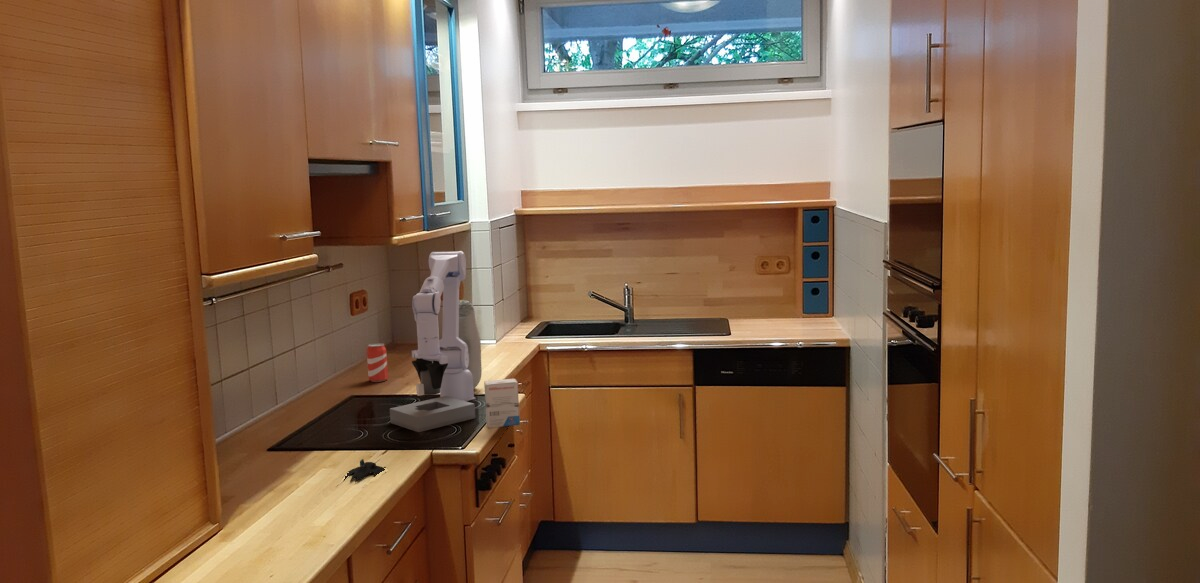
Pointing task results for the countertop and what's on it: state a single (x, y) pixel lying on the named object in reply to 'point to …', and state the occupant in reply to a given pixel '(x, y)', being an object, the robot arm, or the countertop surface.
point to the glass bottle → (470, 339)
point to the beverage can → (377, 362)
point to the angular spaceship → (364, 470)
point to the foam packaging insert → (432, 413)
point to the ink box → (501, 403)
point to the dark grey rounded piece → (426, 384)
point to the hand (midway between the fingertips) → (431, 386)
